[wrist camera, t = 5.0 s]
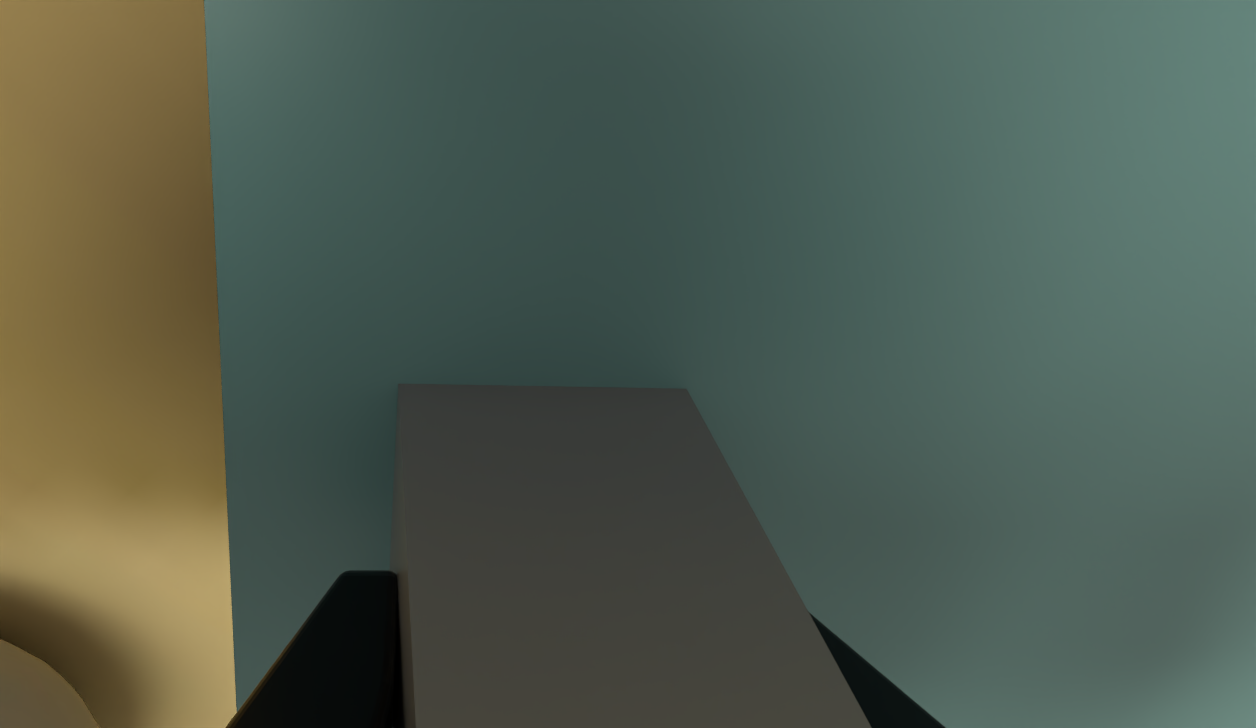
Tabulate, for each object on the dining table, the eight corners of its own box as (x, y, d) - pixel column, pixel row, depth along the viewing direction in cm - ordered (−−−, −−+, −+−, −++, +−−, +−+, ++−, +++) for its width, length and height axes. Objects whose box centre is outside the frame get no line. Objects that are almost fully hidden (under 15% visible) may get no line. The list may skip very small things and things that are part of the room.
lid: (1656, -66, 11) (2791, 48, 6) (1190, 744, 17) (1554, 1158, 12) (229, -352, 7) (-146, -770, 2) (264, 832, 13) (196, 1517, 8)
